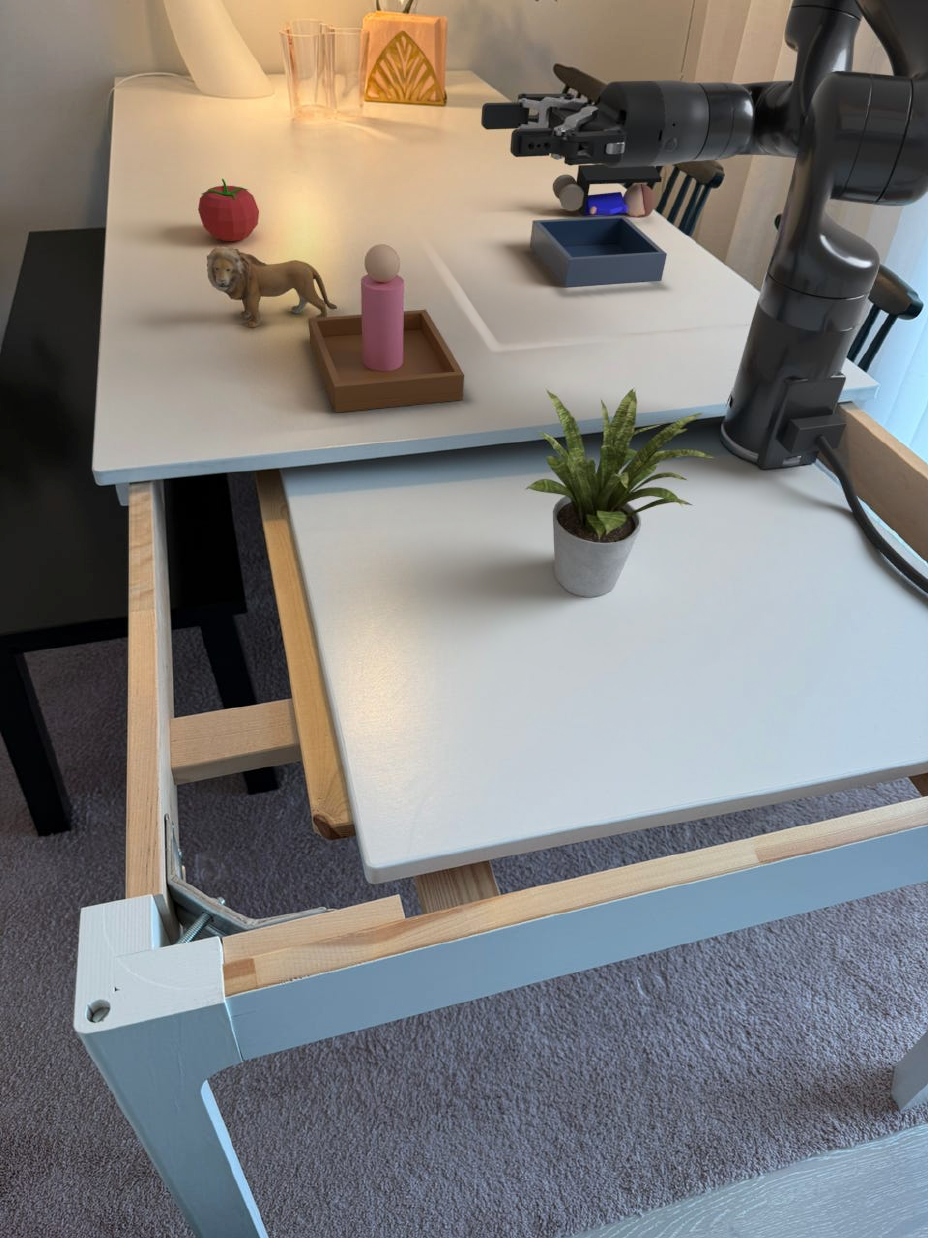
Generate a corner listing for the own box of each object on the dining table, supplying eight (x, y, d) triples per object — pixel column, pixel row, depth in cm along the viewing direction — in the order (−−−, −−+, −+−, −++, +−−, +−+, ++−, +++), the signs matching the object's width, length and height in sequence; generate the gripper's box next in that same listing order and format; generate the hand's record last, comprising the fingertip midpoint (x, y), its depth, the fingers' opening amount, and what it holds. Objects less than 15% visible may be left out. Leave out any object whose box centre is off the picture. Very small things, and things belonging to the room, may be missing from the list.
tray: (462, 400, 97) (464, 374, 95) (335, 413, 94) (334, 386, 92) (425, 333, 108) (425, 309, 106) (309, 343, 105) (308, 317, 103)
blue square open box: (660, 287, 122) (667, 253, 119) (564, 294, 118) (568, 259, 115) (618, 247, 131) (624, 215, 128) (529, 253, 128) (532, 220, 125)
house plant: (698, 645, 72) (755, 469, 61) (523, 648, 71) (548, 468, 59) (656, 532, 82) (698, 364, 71) (502, 533, 81) (521, 362, 70)
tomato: (199, 228, 127) (191, 169, 122) (256, 225, 130) (250, 167, 124) (206, 251, 122) (198, 190, 117) (265, 247, 124) (260, 187, 119)
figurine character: (560, 235, 137) (659, 225, 138) (561, 182, 132) (663, 171, 132) (551, 219, 142) (647, 208, 142) (552, 166, 136) (651, 156, 137)
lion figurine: (219, 337, 105) (209, 258, 98) (209, 317, 108) (198, 239, 102) (343, 320, 109) (341, 244, 103) (330, 302, 113) (326, 227, 107)
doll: (407, 369, 100) (409, 252, 91) (367, 373, 98) (365, 255, 90) (397, 350, 103) (398, 235, 94) (359, 353, 102) (356, 238, 93)
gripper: (626, 63, 94) (475, 65, 90) (692, 101, 84) (527, 106, 80) (614, 142, 99) (471, 148, 95) (675, 188, 89) (519, 196, 85)
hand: (496, 129), depth 87 cm, fingers open, 8 cm apart
